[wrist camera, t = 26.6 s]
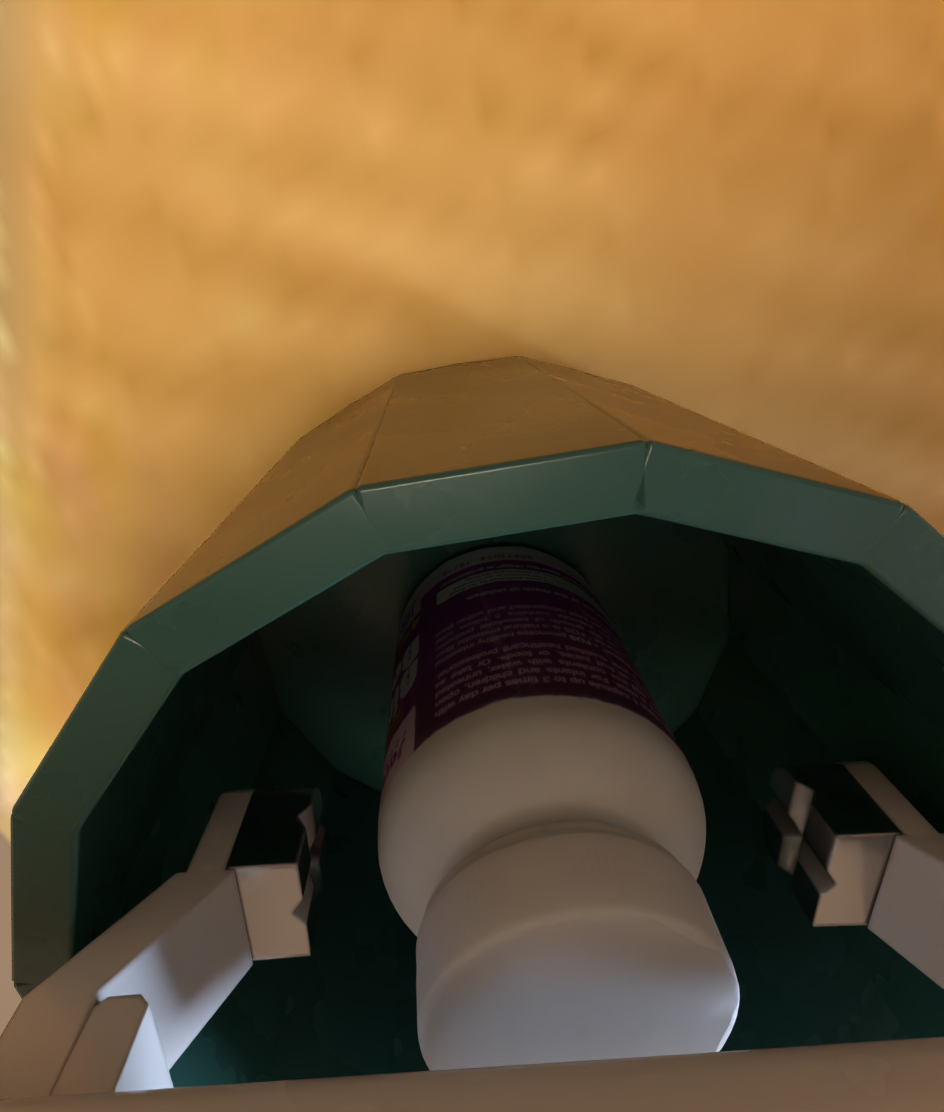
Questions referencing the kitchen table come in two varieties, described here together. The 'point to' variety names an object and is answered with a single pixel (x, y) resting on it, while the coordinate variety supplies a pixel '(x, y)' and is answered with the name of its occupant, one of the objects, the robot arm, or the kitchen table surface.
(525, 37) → the kitchen table surface
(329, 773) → the pot
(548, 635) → the pill bottle
